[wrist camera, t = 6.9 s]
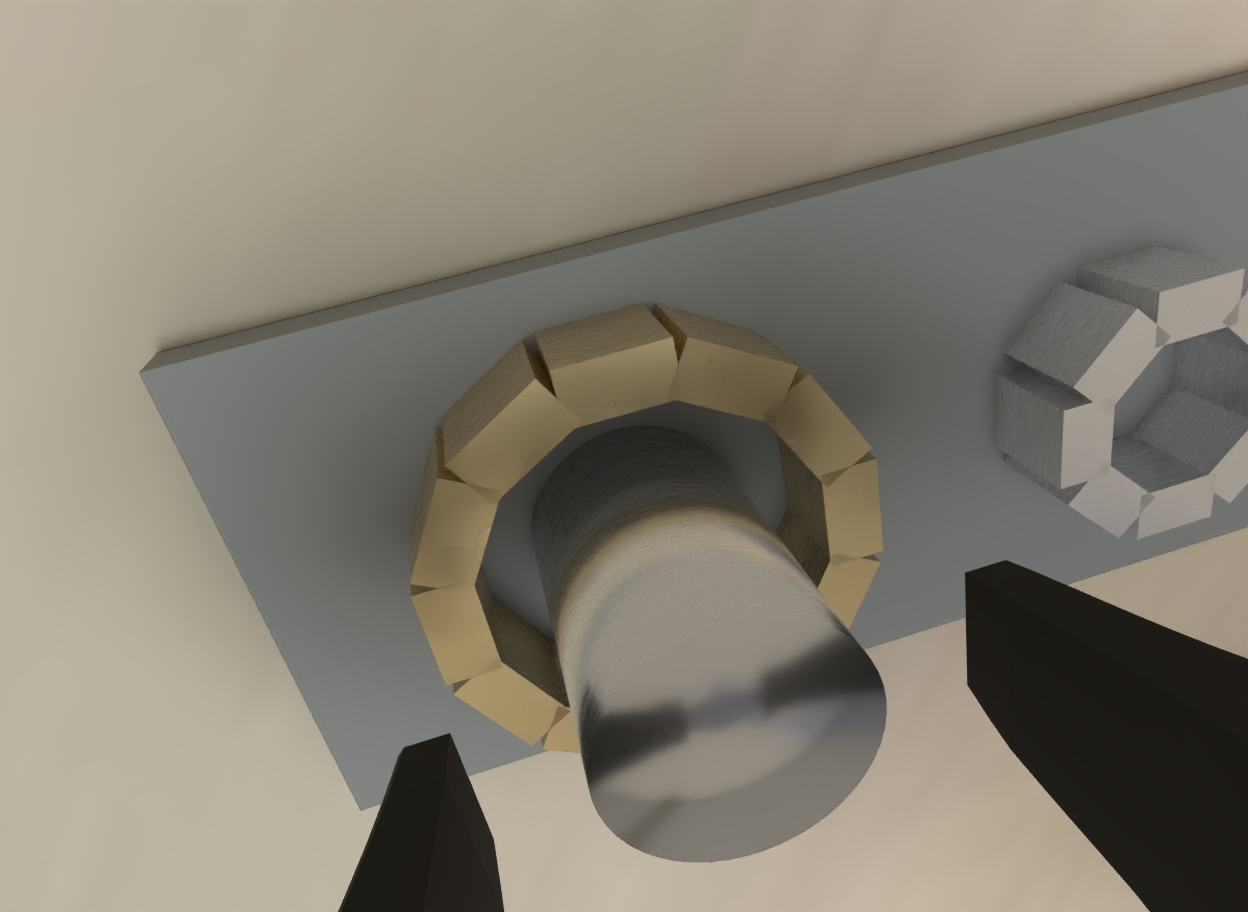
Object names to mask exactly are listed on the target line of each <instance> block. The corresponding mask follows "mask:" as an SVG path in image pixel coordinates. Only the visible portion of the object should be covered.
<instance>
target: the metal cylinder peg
mask: <svg viewBox="0 0 1248 912" xmlns="http://www.w3.org/2000/svg"><path fill="white" fill-rule="evenodd" d="M532 541H533V546H534V551H535V555H536V559H537V564H538V568H539V573H540V577H541V581H542V586H543V590H544V594H545V599H546V603H547V608H548V612H549V616H550V621H551V625H552V629H553V634H554V638H555V643H556V647H557V651H558V656H559V660H560V665H561V669H562V673H563V678H564V682H565V686H566V691H567V695H568V700H569V704H570V708H571V713H572V717H573V721H574V726H575V730H576V735H577V739H578V743H579V748H580V752H581V757H582V761H583V765H584V770H585V774H586V778H587V783H588V787H589V791H590V795H591V799H592V802H593V804H594V806H595V808H596V811H597V813H598V815H599V816H600V817H601V819H602V820H603V822H604V823H605V824H606V826H607V827H608V828H609V829H610V830H611V831H612V832H613V833H614V834H615V835H616V836H617V837H619V838H620V839H621V840H623V841H624V842H626V843H627V844H628V845H630V846H632V847H634V848H636V849H638V850H640V851H642V852H644V853H647V854H650V855H653V856H656V857H659V858H664V859H668V860H673V861H682V862H715V861H724V860H731V859H735V858H740V857H745V856H748V855H752V854H755V853H758V852H761V851H765V850H767V849H770V848H772V847H774V846H777V845H779V844H782V843H784V842H786V841H788V840H790V839H792V838H794V837H796V836H797V835H799V834H801V833H802V832H804V831H806V830H807V829H809V828H810V827H812V826H814V825H815V824H816V823H818V822H819V821H820V820H822V819H823V818H824V817H826V816H827V815H828V814H830V813H831V812H832V811H833V810H834V809H835V808H836V807H837V806H838V805H840V804H841V803H842V802H843V801H844V800H845V799H846V797H847V796H848V795H849V794H850V793H851V792H852V791H853V790H854V789H855V787H856V786H857V785H858V783H859V782H860V781H861V779H862V778H863V777H864V775H865V774H866V772H867V770H868V769H869V767H870V765H871V763H872V762H873V760H874V758H875V756H876V753H877V751H878V749H879V746H880V744H881V740H882V737H883V733H884V729H885V722H886V715H887V712H886V696H885V691H884V686H883V683H882V680H881V677H880V675H879V672H878V670H877V669H876V667H875V665H874V664H873V662H872V661H871V659H870V658H869V656H868V655H867V654H866V652H865V651H864V650H863V648H862V647H861V646H860V644H859V643H858V642H857V640H856V639H855V638H854V636H853V635H852V634H851V632H850V631H849V630H848V628H847V627H846V626H845V624H844V623H843V622H842V620H841V619H840V618H839V616H838V615H837V614H836V612H835V611H834V610H833V608H832V607H831V606H830V604H829V603H828V602H827V600H826V599H825V598H824V596H823V595H822V594H821V592H820V591H819V590H818V588H817V587H816V586H815V584H814V583H813V582H812V580H811V579H810V578H809V576H808V575H807V574H806V572H805V571H804V570H803V568H802V567H801V566H800V564H799V563H798V562H797V560H796V559H795V558H794V556H793V555H792V554H791V552H790V551H789V550H788V548H787V547H786V546H785V544H784V543H783V542H782V540H781V539H780V538H779V536H778V535H777V534H776V532H775V531H774V530H773V528H772V527H771V526H770V524H769V523H768V522H767V520H766V519H765V518H764V516H763V515H762V514H761V512H760V511H759V510H758V508H757V507H756V506H755V504H754V503H753V502H752V500H751V499H750V498H749V496H748V495H747V494H746V492H745V491H744V490H743V488H742V487H741V486H740V484H739V483H738V482H737V480H736V479H735V478H734V476H733V475H732V474H731V472H730V471H729V470H728V468H727V467H726V466H725V464H724V463H723V462H722V460H721V459H720V458H719V457H718V456H717V454H716V453H715V452H714V451H713V450H712V449H711V448H709V447H708V446H707V445H706V444H705V443H704V442H702V441H700V440H699V439H697V438H695V437H694V436H692V435H689V434H687V433H685V432H682V431H680V430H676V429H672V428H669V427H662V426H655V425H639V426H630V427H624V428H620V429H616V430H612V431H609V432H606V433H604V434H601V435H599V436H597V437H595V438H593V439H591V440H589V441H587V442H585V443H584V444H582V445H581V446H579V447H578V448H576V449H575V450H573V451H572V452H571V453H570V454H569V455H567V456H566V457H565V458H564V459H563V460H562V461H561V462H560V463H559V464H558V465H557V466H556V468H555V469H554V470H553V471H552V473H551V474H550V475H549V477H548V478H547V480H546V481H545V483H544V485H543V487H542V489H541V491H540V493H539V495H538V498H537V501H536V504H535V507H534V512H533V517H532Z"/></svg>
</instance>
